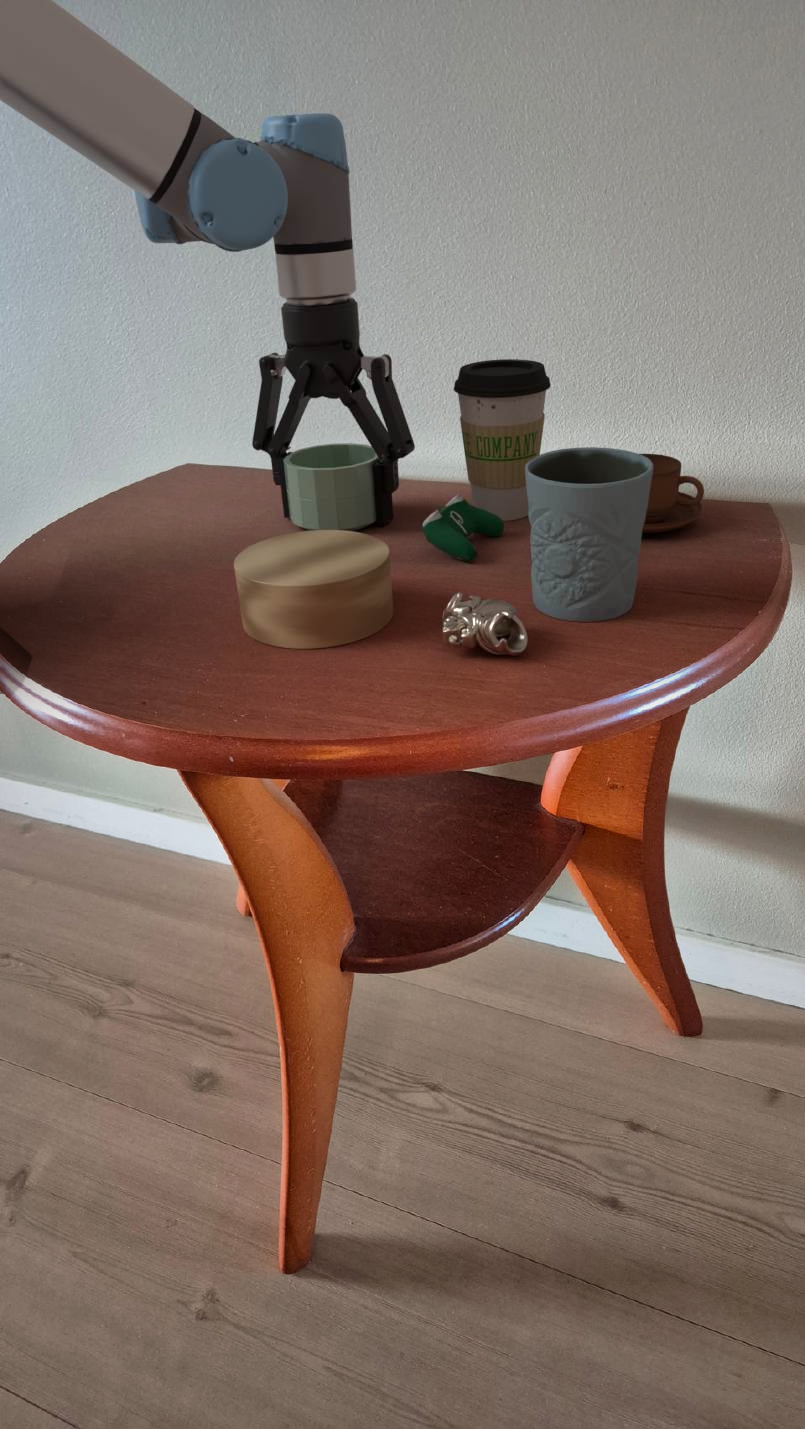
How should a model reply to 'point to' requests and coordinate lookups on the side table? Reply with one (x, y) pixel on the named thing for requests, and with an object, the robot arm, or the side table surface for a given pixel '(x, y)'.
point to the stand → (314, 588)
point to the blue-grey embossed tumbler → (586, 530)
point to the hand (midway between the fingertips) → (338, 517)
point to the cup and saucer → (670, 496)
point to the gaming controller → (460, 527)
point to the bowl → (331, 486)
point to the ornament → (483, 625)
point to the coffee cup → (501, 430)
